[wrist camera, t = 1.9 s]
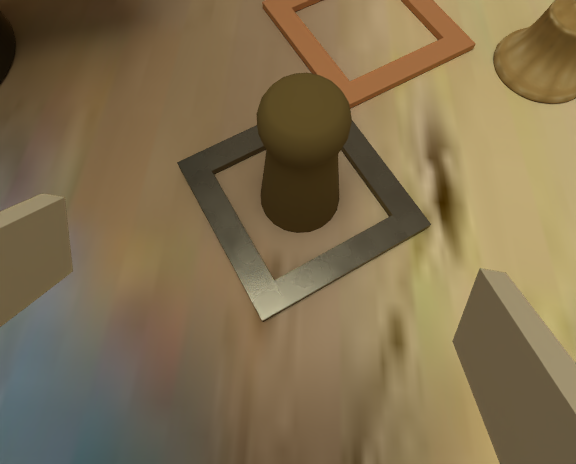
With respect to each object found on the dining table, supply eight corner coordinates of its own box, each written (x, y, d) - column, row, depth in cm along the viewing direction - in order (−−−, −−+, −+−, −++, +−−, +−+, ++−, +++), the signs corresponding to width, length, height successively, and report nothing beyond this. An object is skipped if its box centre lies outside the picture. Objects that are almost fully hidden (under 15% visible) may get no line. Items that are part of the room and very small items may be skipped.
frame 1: (262, 7, 38) (262, 1, 37) (384, -43, 40) (385, -49, 40) (341, 112, 33) (342, 107, 33) (472, 49, 36) (475, 43, 35)
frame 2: (179, 166, 31) (177, 162, 31) (329, 95, 34) (329, 91, 33) (262, 321, 27) (262, 320, 26) (428, 227, 29) (431, 224, 29)
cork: (279, 152, 32) (274, 41, 22) (350, 177, 31) (380, 74, 21) (247, 215, 30) (225, 126, 20) (322, 244, 29) (340, 167, 19)
